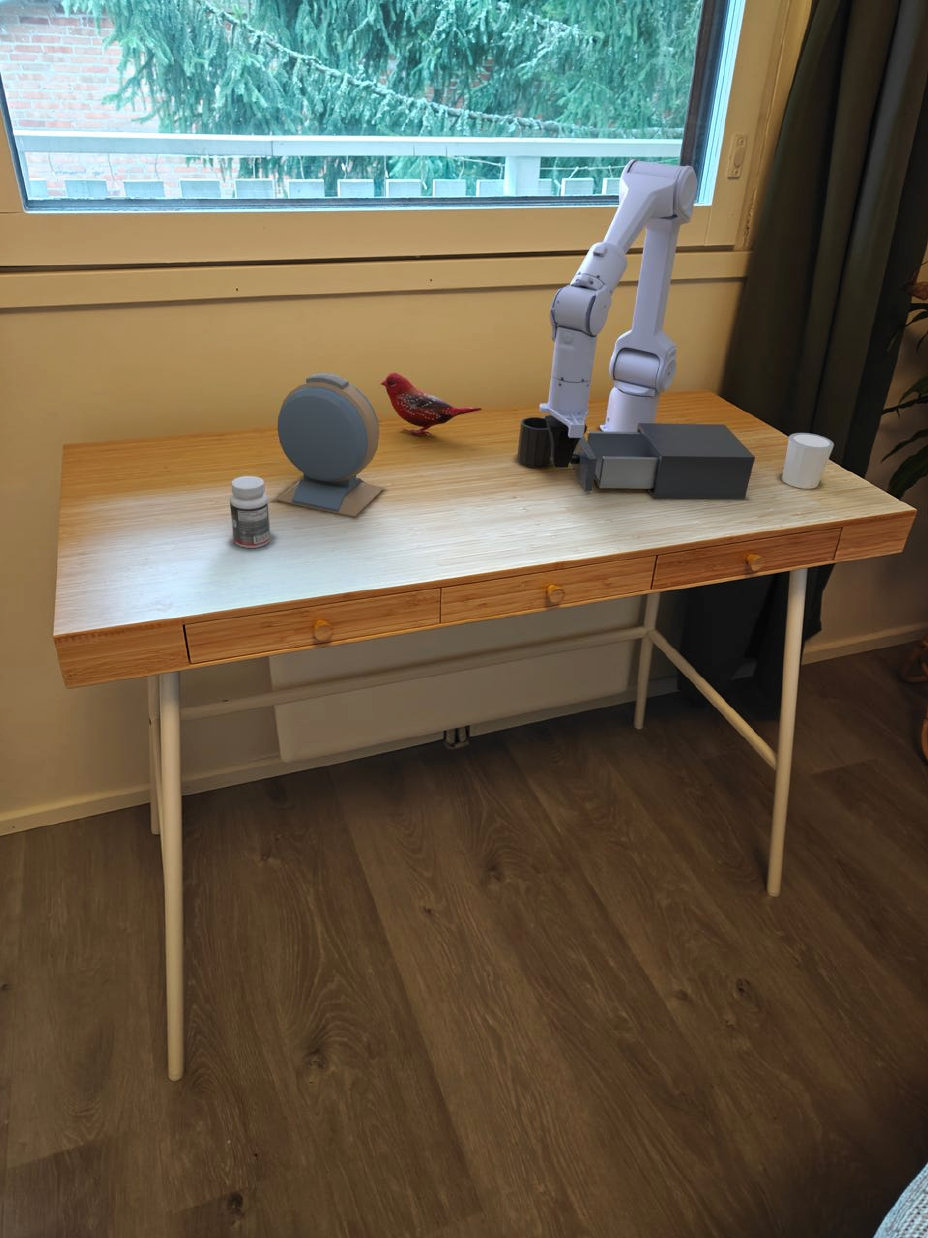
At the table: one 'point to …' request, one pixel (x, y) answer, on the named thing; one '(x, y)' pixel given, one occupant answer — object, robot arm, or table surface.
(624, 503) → the table surface
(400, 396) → the decorative bird figurine
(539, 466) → the dark grey faceted cup
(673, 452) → the dark grey cabinet
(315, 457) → the alarm clock
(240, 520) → the pill bottle
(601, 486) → the drawer
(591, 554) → the table surface
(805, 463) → the white cylinder
